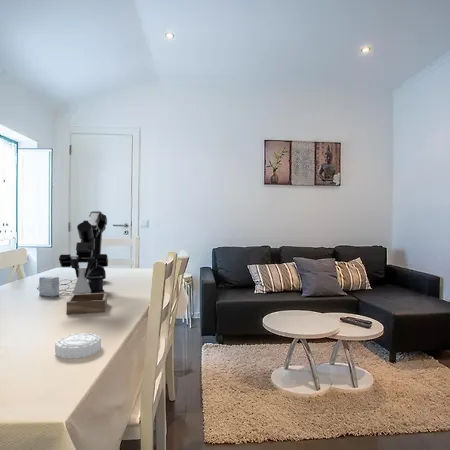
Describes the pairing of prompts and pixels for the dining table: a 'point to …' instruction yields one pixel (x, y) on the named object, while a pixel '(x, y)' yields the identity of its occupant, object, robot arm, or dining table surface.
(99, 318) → the dining table surface
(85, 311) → the walled box
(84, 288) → the flask
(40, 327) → the dining table surface
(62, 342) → the mooncake
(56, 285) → the medicine box
